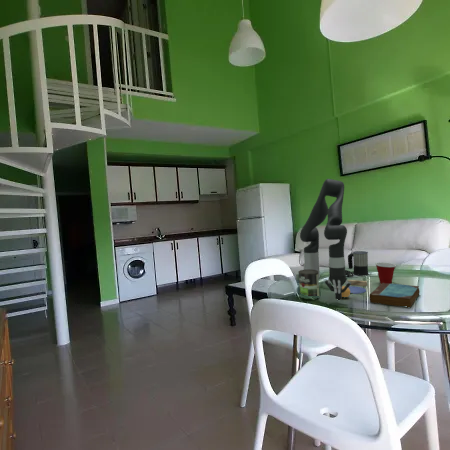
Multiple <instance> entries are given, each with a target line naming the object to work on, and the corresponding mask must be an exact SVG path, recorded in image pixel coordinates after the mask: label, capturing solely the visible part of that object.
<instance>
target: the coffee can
mask: <svg viewBox="0 0 450 450" xmlns="http://www.w3.org/2000/svg"><path fill="white" fill-rule="evenodd" d="M318 273H319V272H318V271H317V270H312V269H305V270H304V269H301V270H299V271H298V280H299V281H298V282H299V283H298V284H299V285H298V286H299V294H300V293H301V294H304V295H308V296H319V297H320V283H319V281H320V278H319V277H318Z"/></svg>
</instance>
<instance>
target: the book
mask: <svg viewBox="0 0 450 450" xmlns="http://www.w3.org/2000/svg"><path fill="white" fill-rule="evenodd" d="M419 287H420V286H419V285H410V284H399V283H392V284H389V283H382V284H379V285H378V286H377V287H376V288H375V289H374V290H373V291H372V292H371V293H369V302H370V303H372V304H373V303H374V304H379V303H381V304H380V305H386V306H387V305H388V306H394V307H400V306H407V307H406V308H408V307H410V308H411V307H412V305H413V304H414V303H415V301H416V299H418V297H419V294H420V292H421V291H420V288H419Z"/></svg>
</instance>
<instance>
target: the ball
mask: <svg viewBox="0 0 450 450" xmlns="http://www.w3.org/2000/svg"><path fill="white" fill-rule="evenodd" d="M345 286H346V285H343V286H342V289H344V287H345ZM350 295H351V294H350V289H349V288H347V290H346V291H345V292H344V293H342V297H347V298H348V297H350Z"/></svg>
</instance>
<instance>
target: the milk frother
mask: <svg viewBox="0 0 450 450" xmlns="http://www.w3.org/2000/svg"><path fill="white" fill-rule="evenodd" d="M368 255H369V252H368V251H367V250H366V251H364V250H355V251H352V253H349V254H348V255H347V266H348V269H349V270H347V269H345V273H346V277H354V276H361V277H364V276H369V266H368V265H369V260H368V259H369V257H368ZM350 270H353V271H350Z"/></svg>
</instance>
